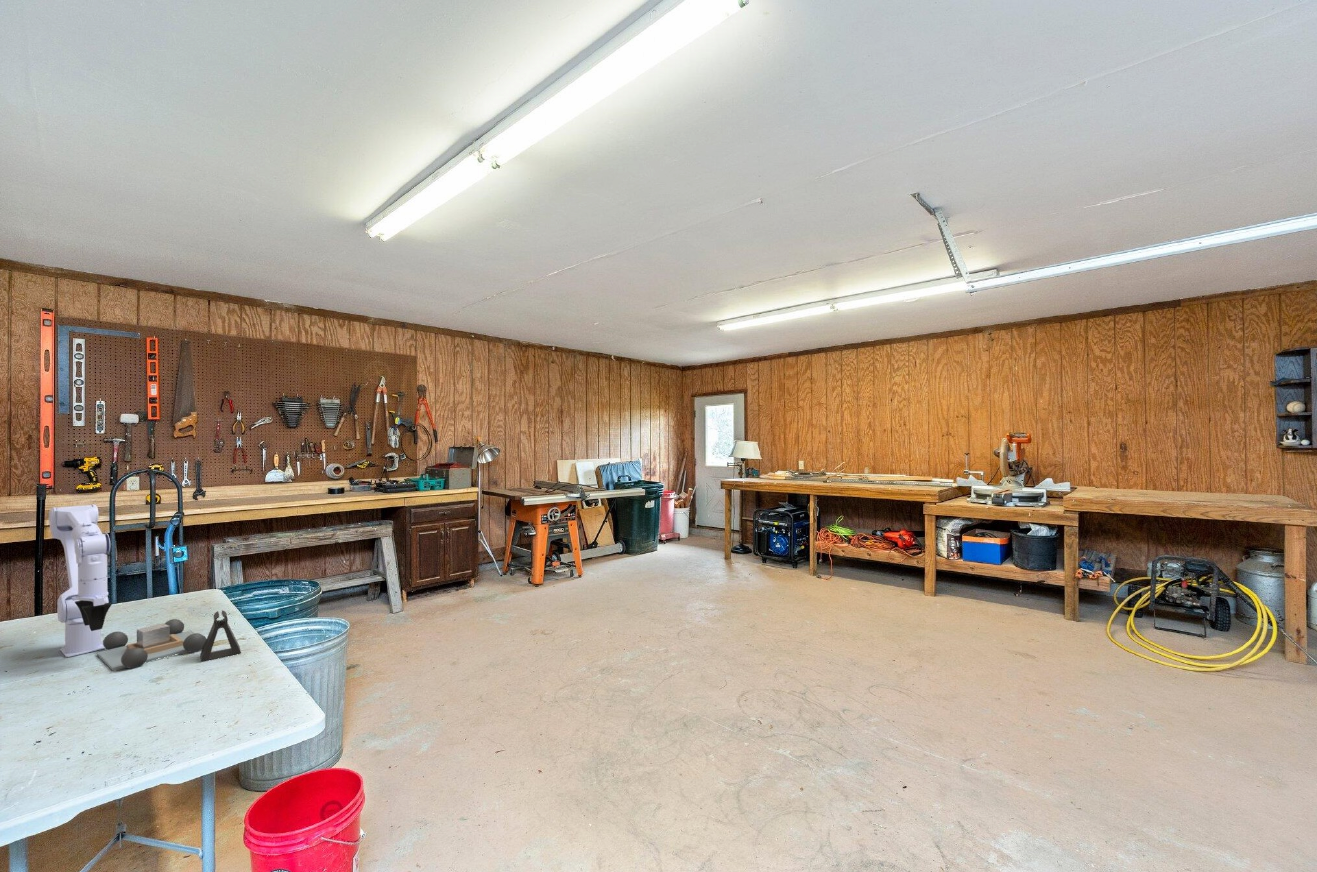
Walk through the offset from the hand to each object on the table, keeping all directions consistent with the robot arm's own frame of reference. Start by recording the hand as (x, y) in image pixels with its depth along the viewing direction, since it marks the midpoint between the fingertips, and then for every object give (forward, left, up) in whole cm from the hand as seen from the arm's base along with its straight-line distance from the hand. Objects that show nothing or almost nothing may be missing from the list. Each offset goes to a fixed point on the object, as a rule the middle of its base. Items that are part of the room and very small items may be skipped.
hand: (93, 627), depth 153 cm
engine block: (+5, +12, -9) cm, 15 cm away
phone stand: (+24, +22, -10) cm, 34 cm away
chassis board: (+5, +12, -9) cm, 16 cm away
